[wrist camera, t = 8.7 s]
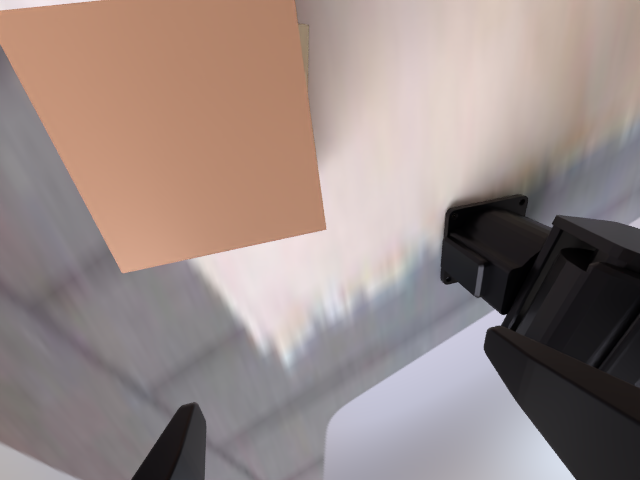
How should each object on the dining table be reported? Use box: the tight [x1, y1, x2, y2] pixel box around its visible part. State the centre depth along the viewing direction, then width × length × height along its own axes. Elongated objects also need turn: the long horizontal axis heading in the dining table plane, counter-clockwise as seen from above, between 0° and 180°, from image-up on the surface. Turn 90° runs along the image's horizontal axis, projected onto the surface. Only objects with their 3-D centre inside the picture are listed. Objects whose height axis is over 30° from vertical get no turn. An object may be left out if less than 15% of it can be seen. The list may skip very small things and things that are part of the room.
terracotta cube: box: [0, 0, 326, 273], centre depth 10 cm, size 6×6×6 cm
